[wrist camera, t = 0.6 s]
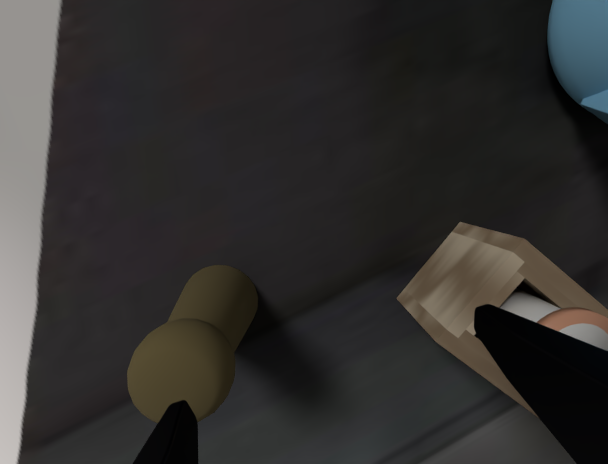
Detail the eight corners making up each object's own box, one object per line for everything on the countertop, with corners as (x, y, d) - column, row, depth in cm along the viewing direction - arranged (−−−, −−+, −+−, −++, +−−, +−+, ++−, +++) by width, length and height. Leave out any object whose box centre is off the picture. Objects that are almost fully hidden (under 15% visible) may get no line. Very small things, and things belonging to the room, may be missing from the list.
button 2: (509, 367, 22) (574, 422, 17) (454, 325, 21) (505, 371, 16) (561, 309, 21) (645, 349, 16) (507, 264, 20) (577, 292, 15)
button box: (587, 441, 30) (677, 521, 23) (396, 298, 26) (435, 341, 19) (648, 378, 29) (761, 441, 22) (459, 222, 25) (524, 239, 19)
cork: (253, 261, 25) (229, 325, 14) (262, 331, 26) (245, 441, 15) (176, 269, 25) (91, 339, 14) (188, 340, 26) (117, 457, 15)
